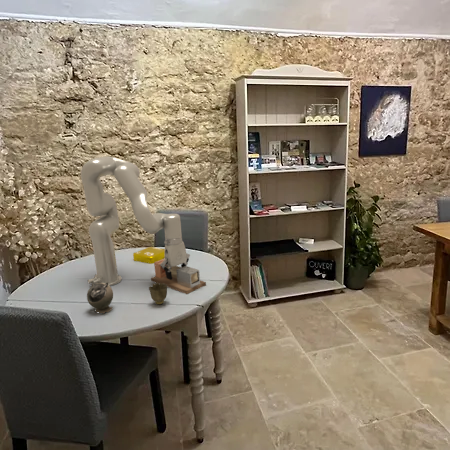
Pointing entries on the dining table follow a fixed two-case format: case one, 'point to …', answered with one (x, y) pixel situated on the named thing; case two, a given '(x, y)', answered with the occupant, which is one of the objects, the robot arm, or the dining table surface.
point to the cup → (158, 292)
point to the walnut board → (176, 284)
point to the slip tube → (174, 274)
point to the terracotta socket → (159, 269)
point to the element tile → (149, 255)
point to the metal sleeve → (187, 276)
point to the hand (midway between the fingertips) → (177, 275)
